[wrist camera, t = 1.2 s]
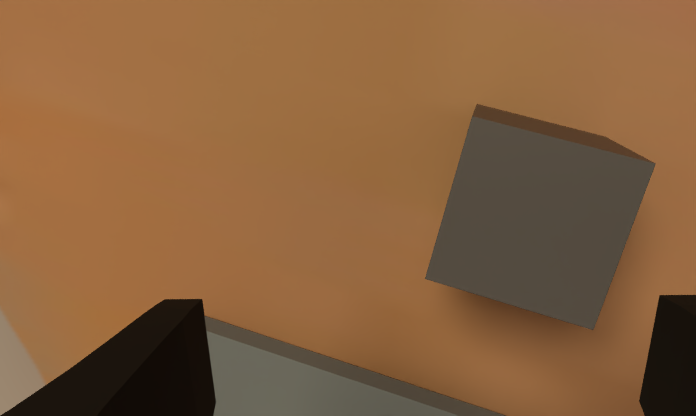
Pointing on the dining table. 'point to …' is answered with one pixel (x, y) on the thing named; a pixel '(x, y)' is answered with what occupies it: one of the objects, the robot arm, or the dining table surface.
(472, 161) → the plug
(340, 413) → the socket
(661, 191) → the dining table surface
